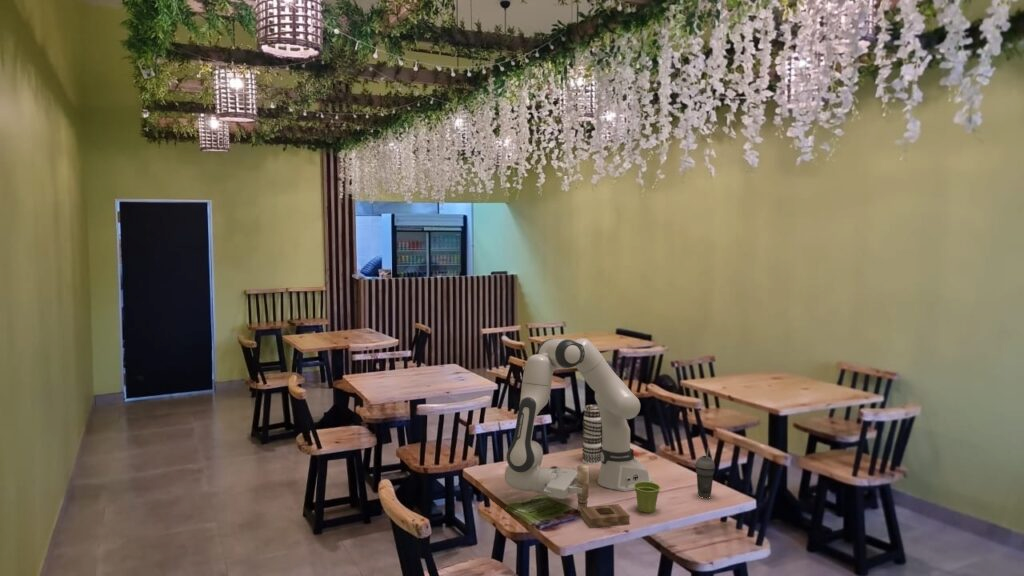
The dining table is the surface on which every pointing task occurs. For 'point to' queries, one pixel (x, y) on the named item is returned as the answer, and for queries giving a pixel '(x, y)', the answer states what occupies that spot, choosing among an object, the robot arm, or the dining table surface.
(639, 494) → the plant pot
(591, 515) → the brown wooden frame
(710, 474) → the beverage cup
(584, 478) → the peg
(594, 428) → the decorative candle
